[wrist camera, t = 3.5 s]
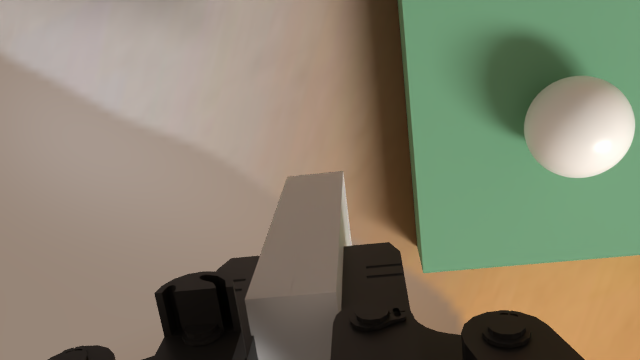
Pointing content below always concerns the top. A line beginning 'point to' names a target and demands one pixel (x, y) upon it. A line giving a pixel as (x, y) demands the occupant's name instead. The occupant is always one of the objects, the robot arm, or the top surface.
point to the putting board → (513, 130)
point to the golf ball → (579, 126)
